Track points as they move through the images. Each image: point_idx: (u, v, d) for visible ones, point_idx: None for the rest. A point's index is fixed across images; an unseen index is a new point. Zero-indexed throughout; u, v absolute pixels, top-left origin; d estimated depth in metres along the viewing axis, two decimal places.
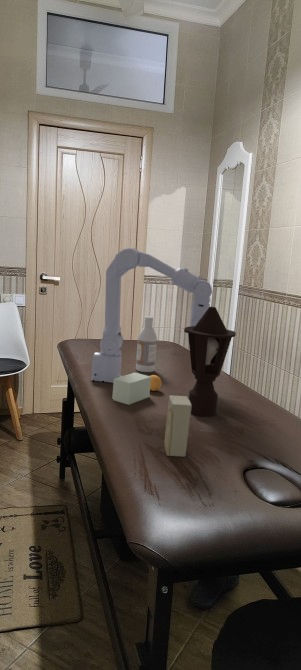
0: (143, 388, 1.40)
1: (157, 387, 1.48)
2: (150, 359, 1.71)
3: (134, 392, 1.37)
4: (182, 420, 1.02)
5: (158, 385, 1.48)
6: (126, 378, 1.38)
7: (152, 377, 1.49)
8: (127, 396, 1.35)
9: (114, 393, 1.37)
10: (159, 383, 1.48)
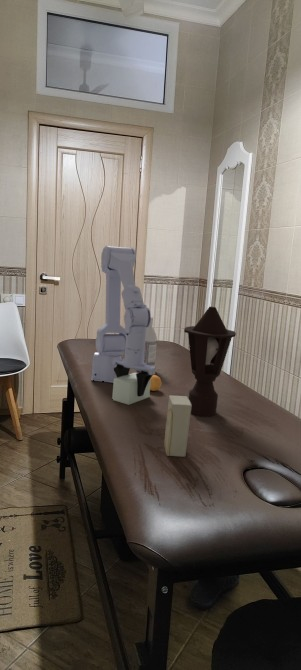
0: None
1: (157, 387, 1.48)
2: (150, 359, 1.71)
3: (134, 392, 1.37)
4: (182, 420, 1.02)
5: (158, 385, 1.48)
6: (126, 378, 1.38)
7: (152, 377, 1.49)
8: (127, 396, 1.35)
9: (114, 393, 1.37)
10: (159, 383, 1.48)
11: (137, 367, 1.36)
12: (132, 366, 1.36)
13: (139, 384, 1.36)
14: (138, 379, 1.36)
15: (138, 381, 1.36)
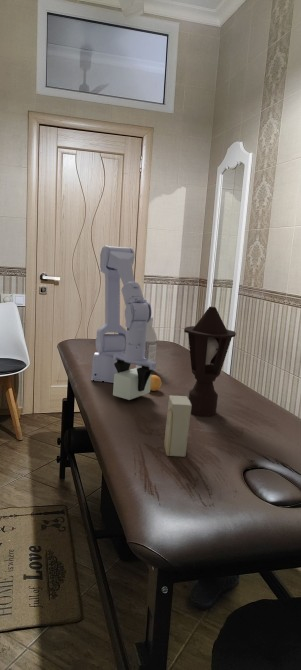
0: None
1: (157, 387, 1.48)
2: (150, 359, 1.71)
3: (135, 387, 1.36)
4: (182, 420, 1.02)
5: (158, 385, 1.48)
6: (127, 373, 1.38)
7: (152, 377, 1.49)
8: (128, 391, 1.35)
9: (115, 388, 1.37)
10: (159, 383, 1.48)
11: (138, 362, 1.35)
12: (133, 361, 1.36)
13: (140, 379, 1.36)
14: (139, 373, 1.35)
15: (138, 376, 1.36)
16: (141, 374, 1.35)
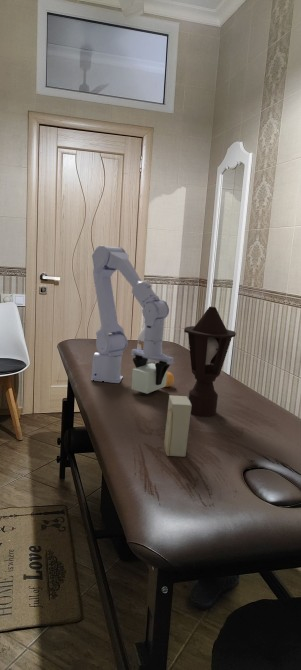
0: None
1: (172, 377, 1.54)
2: (150, 359, 1.71)
3: (153, 381, 1.44)
4: (182, 420, 1.02)
5: (173, 379, 1.54)
6: (144, 368, 1.46)
7: None
8: (146, 385, 1.42)
9: (133, 383, 1.45)
10: (173, 381, 1.54)
11: (156, 357, 1.43)
12: (151, 356, 1.43)
13: (158, 373, 1.44)
14: (157, 368, 1.43)
15: (156, 371, 1.44)
16: (159, 369, 1.43)
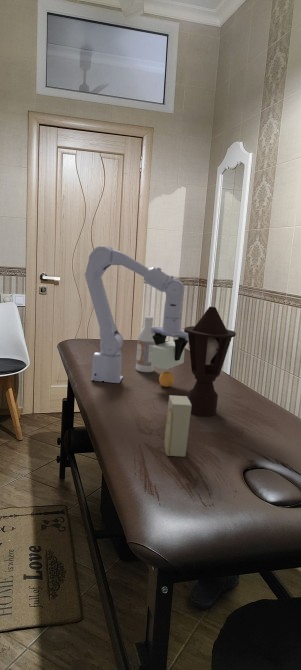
0: None
1: (172, 377, 1.54)
2: (150, 359, 1.71)
3: (171, 358, 1.51)
4: (182, 420, 1.02)
5: (173, 379, 1.54)
6: (163, 346, 1.53)
7: None
8: (165, 362, 1.49)
9: (153, 359, 1.52)
10: (173, 381, 1.54)
11: (175, 334, 1.50)
12: (171, 333, 1.51)
13: (177, 349, 1.51)
14: (176, 344, 1.50)
15: (175, 347, 1.51)
16: (178, 344, 1.50)
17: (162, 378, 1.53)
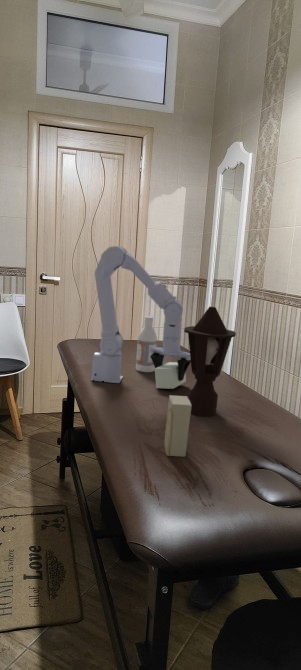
0: None
1: None
2: (150, 359, 1.71)
3: (175, 377, 1.51)
4: (182, 420, 1.02)
5: None
6: (165, 366, 1.53)
7: None
8: (170, 381, 1.50)
9: (157, 381, 1.52)
10: None
11: (175, 354, 1.51)
12: (171, 353, 1.52)
13: (180, 369, 1.52)
14: (179, 365, 1.51)
15: (179, 367, 1.52)
16: (181, 365, 1.51)
17: None
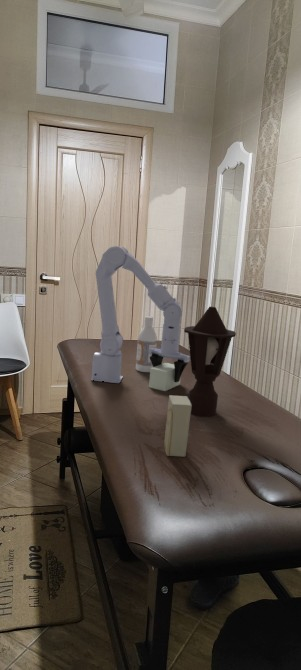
0: None
1: None
2: None
3: (169, 380, 1.52)
4: (182, 420, 1.02)
5: None
6: (161, 367, 1.54)
7: None
8: (163, 383, 1.51)
9: (151, 381, 1.53)
10: None
11: (173, 356, 1.52)
12: (169, 355, 1.52)
13: (176, 371, 1.52)
14: (176, 366, 1.51)
15: (175, 369, 1.52)
16: (178, 367, 1.51)
17: None
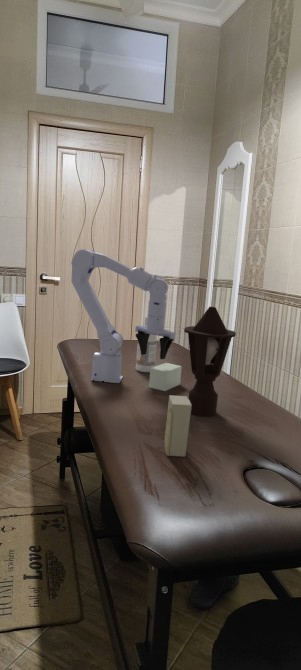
0: (176, 376, 1.56)
1: None
2: (150, 359, 1.71)
3: (169, 380, 1.52)
4: (182, 420, 1.02)
5: None
6: (161, 367, 1.54)
7: None
8: (163, 383, 1.51)
9: (151, 381, 1.53)
10: None
11: (159, 332, 1.51)
12: (154, 331, 1.51)
13: (162, 348, 1.51)
14: (161, 343, 1.51)
15: (161, 345, 1.51)
16: (163, 343, 1.50)
17: None
